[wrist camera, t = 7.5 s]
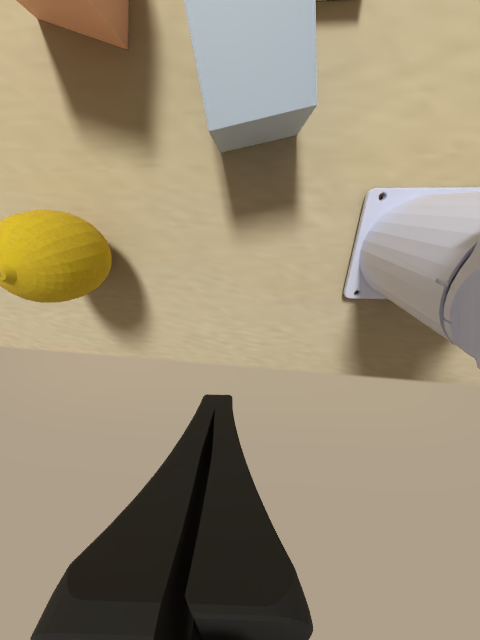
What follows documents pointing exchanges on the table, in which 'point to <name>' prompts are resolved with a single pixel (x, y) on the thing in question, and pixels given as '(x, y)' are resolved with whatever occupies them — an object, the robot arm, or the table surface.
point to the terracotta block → (86, 17)
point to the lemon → (51, 256)
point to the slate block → (254, 67)
